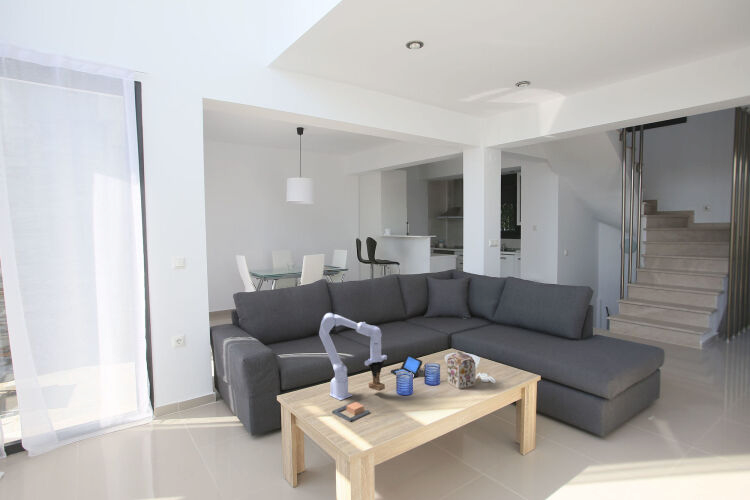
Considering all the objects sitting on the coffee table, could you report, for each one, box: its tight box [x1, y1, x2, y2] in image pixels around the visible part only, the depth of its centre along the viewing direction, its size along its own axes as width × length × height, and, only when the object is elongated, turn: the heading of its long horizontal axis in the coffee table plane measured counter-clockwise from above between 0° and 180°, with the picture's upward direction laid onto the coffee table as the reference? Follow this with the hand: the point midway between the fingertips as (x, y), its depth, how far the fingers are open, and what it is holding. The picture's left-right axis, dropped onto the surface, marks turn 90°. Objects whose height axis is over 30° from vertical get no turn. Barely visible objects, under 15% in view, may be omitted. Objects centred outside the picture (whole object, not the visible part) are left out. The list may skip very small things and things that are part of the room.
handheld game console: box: [390, 354, 423, 379], centre depth 248 cm, size 16×13×9 cm
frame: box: [331, 402, 370, 423], centre depth 198 cm, size 13×12×1 cm
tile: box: [346, 401, 365, 416], centre depth 200 cm, size 6×6×3 cm
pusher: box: [368, 373, 386, 392], centre depth 218 cm, size 8×4×8 cm, turn 45°
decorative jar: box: [446, 351, 477, 390], centre depth 232 cm, size 12×12×18 cm
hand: (376, 375), depth 218 cm, fingers closed on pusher, 2 cm apart
